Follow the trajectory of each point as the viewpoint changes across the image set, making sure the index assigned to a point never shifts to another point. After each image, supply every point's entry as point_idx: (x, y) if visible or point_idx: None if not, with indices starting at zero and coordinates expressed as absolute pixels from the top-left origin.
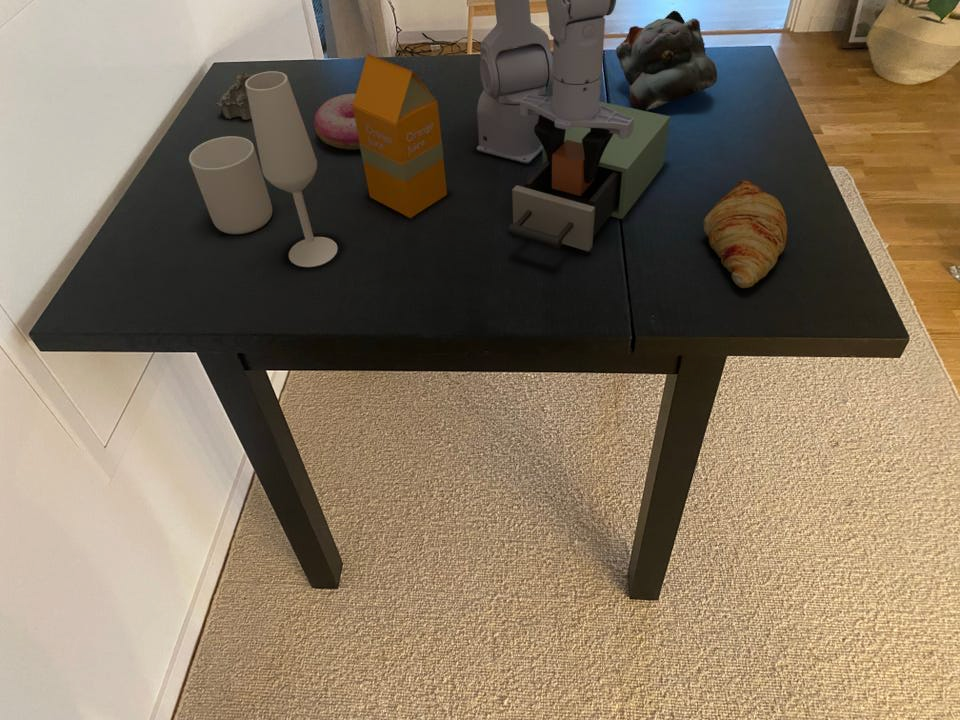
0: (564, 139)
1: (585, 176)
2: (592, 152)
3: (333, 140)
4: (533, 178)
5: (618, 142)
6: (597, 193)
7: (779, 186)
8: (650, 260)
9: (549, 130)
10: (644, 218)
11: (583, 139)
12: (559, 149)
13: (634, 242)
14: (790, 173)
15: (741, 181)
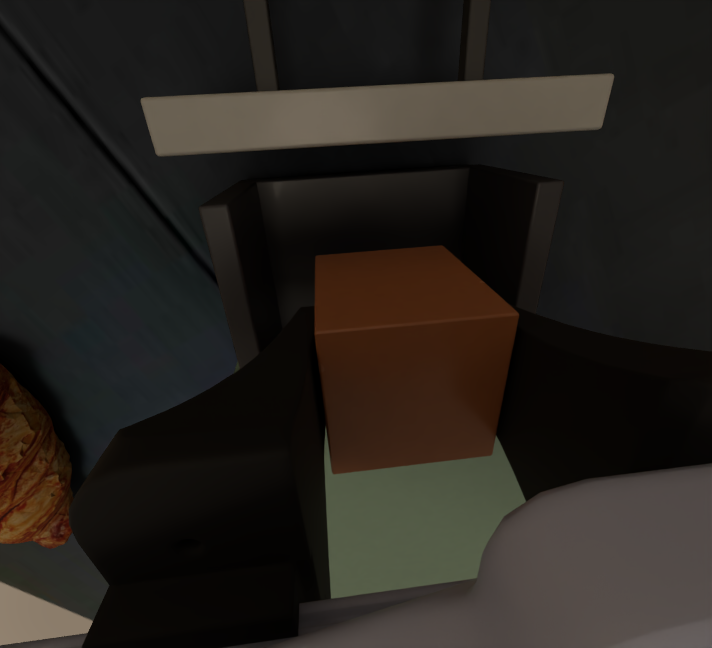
0: (506, 469)
1: (310, 314)
2: (225, 395)
3: None
4: (536, 229)
5: (334, 528)
6: (231, 271)
7: (68, 551)
8: (58, 205)
9: (687, 427)
10: (207, 356)
11: (270, 455)
12: (496, 374)
13: (157, 258)
14: (84, 581)
15: (57, 539)
